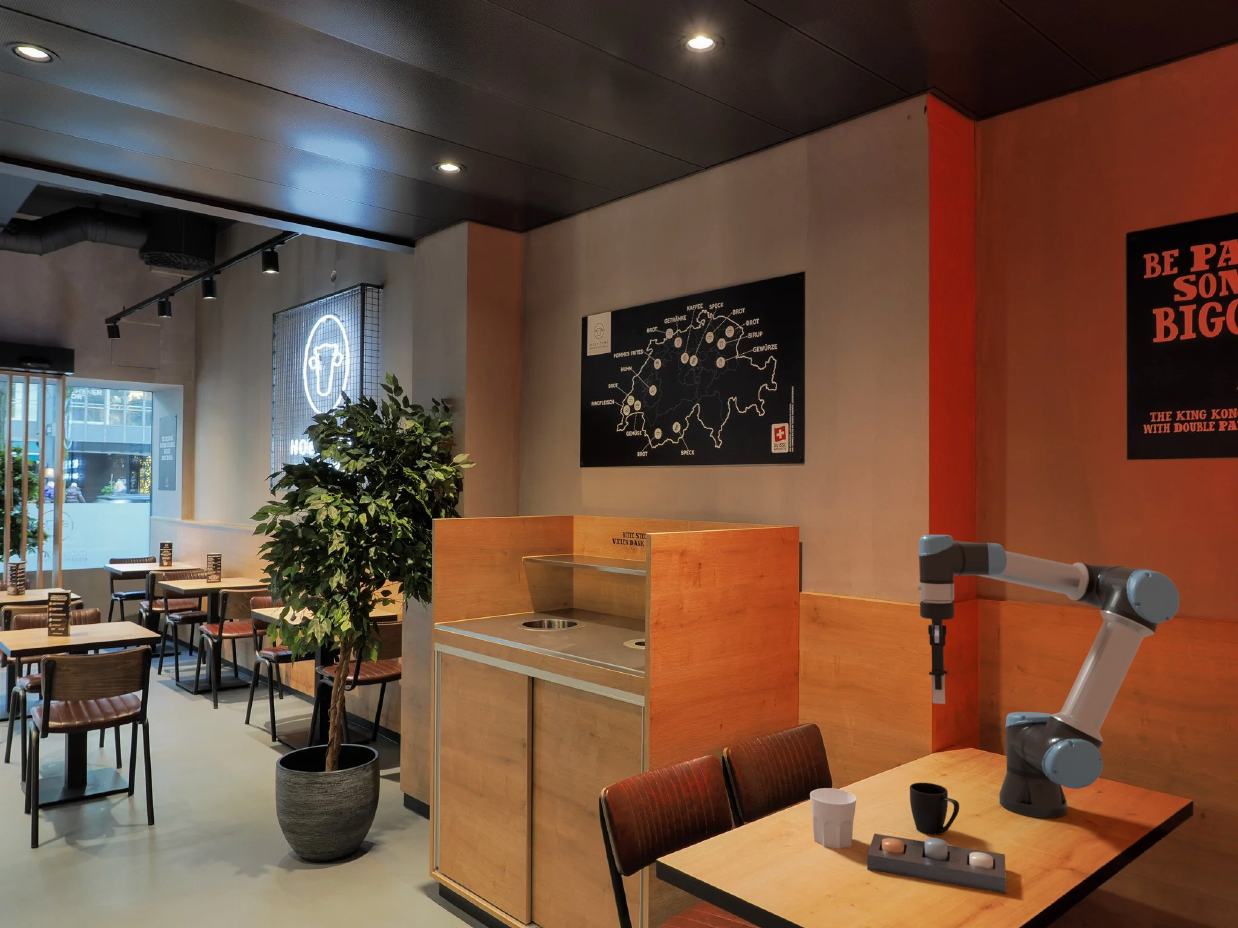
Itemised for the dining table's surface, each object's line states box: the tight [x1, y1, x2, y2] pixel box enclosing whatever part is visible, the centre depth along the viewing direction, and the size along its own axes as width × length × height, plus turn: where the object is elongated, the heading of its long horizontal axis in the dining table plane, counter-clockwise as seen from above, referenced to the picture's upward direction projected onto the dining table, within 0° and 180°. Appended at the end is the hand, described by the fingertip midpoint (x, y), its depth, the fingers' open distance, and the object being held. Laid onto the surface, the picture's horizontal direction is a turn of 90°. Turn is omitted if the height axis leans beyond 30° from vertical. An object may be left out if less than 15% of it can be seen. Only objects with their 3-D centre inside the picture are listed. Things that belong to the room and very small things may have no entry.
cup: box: [809, 787, 857, 850], centre depth 187 cm, size 10×10×10 cm
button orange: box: [882, 838, 904, 854], centre depth 177 cm, size 4×4×4 cm
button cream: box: [969, 852, 993, 869], centre depth 170 cm, size 4×4×4 cm
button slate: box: [924, 837, 948, 861], centre depth 173 cm, size 4×4×4 cm
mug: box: [909, 782, 960, 836], centre depth 192 cm, size 8×12×10 cm
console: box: [866, 833, 1007, 895], centre depth 173 cm, size 26×12×3 cm, turn 66°
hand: (938, 702), depth 195 cm, fingers closed
